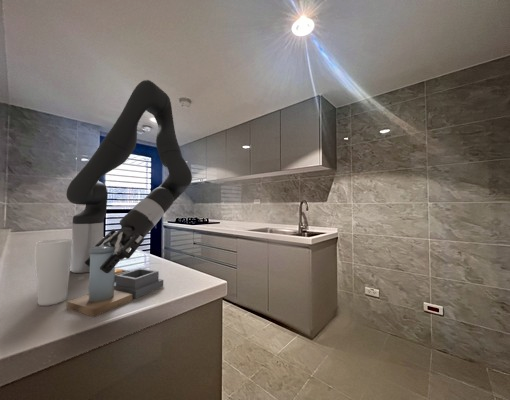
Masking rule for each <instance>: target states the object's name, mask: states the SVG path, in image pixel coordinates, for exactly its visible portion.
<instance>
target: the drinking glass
mask: <svg viewBox="0 0 510 400" xmlns="http://www.w3.org/2000/svg"><path fill="white" fill-rule="evenodd" d="M71 258H72V238H71V239H70V238H56V239H45V240H40V241H36V242H35V248H34V264H35V265H34V268H35V275H36V277H35V278H36V290H37V291H36V292H37V305H39V306H43V307H44V306H45V307H46V306H52V305H57V304H60V303H62V302H64V301H65V300H66V299H67V298H68V287H69V279H70V274H71V273H70V272H71Z"/></svg>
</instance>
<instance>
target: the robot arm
mask: <svg viewBox="0 0 510 400" xmlns="http://www.w3.org/2000/svg"><path fill="white" fill-rule="evenodd" d="M145 112H147V113H149V114H151V115H152V116H153V117H154V120H155V121H156V124H157V128H158V129H157V133H156V136H155V137H156V138H155V144H156V149H157V152H158V156H159V160H160V163H161V164H162V166H163V167H166V168H167V170H168V175H167V177H166V178H165V180H163V182H162V183H161V184H160V185H159V186H158V187H156V188H154V189H152V190H151V191H150V192H149V193H148V194H147V195H146V196H145V197H144V198H143V199H141V200H140V201H139V202H138V203H137V204H136V205H134V206H133V208H131V210H130V211H128V212H127V214H126V215H124V216H123V217H122V218H121V219H120V220H119V224H120V227H121V228H120V229H119V230H117V231H116V230H115V229H112V230H111V231H109V232H108V233H107V234H106V235H105V236H104V226H105V225H104V220H105V217H106V214H107V207H108V206H107V205H108V189H107V186H106V184H105V183H103V182H102V181H100V180H101V179H102V178H103V176H105V175H107V174H108V173H109V172H111V171H113V170H115V169H116V168H119V167H120V166H121V165H123V164H124V163H125V162H126V161H127V160H128V159H129V157H130V156H131V155H132V153H133V152H134V150H135V149H136V147H137V141H138V125H139V122H140V120H141V119H142V117H143V115H144V113H145ZM173 115H174V114H173V108H172V102H171V98H170V97H169V95H168V94H167V93H166V92H165V91H164V90H163V89H162V88H161V87H159V86H158V85H157V84H156V83H154V81H152V80H149V79H143V80H141V81H140V82H139V83H137V85H136V86H135V88H134V89H133V91H132V93H131V95H129V98H128V100H127V101H126V103H125V106H124V108H123V109H122V112H121V113H120V115H119V116H118V117H117V120H116V121H115V123H114V124H113V126H112V127H111V129H110V130H109V131H108V133H107V134H106V135H105V136H104V138H103V140H102V141H101V143H100V144H99V146H98V147H97V149H96V151H95V152H94V154H93V155H92V156H91V157H90V159H89V161H87V163H86V164H85V165H84V166H83V168H82V169H81V170H80V171H79V172H78V173H77V175H75V176H74V178H72V180H71V182H70V183H69V184H68V186H67V189H66V193H65V194H66V198H67V200H68V202H70V203H71V204H75V205H79V206H85V208H84V210H82V211H81V212H80V213H77V214H74V215H73V217H72V227H71V228H72V231H71V232H72V233H71V236H72V237H71V240H72V258H71V266H70V272H71V273H73V274H75V273H76V274H81V273H84V274H85V273H90V248H92V247H98V246H115V248H116V249H115V251H114V253H113V254H114V255H111V256H110V257H109V258H108V259H107V260H106V261H105V262H104V263H103V264H102V266H101V267H100V270H102V271H103V272H105V273H109V272H110V271H111V270H112V269H113V268H114V267H115V268H116V266H117V265H118V263H119V262H120V261H123V260H125V259H130V258H131V257H132V256H133V254H134V253H135V252H136V250H137V249H139V247H140V246H141V245H142V243H143V242H144V241H145V237H146V236H147V235H148V234H149V233H150V232H151V231H152V229H154V227H155V226H156V225H157V224H158V222H160V220H161V218H162V217H163V216H164V215H165V214H166V212H167V211H168V210H169V209H170V208H171V206H172V205H173V204H174V202H175V201H176V200H177V199H178V198H179V197H180V196H181V195H182V194H183V193H184V192H185V191H186V190H187V188H188V187H190V184H191V183H192V180H193V177H192V172H191V171H192V170H191V169H190V167H189V166H188V163H187V162H186V160H185V159H184V158H183V155H182V151H181V148H180V145H179V142H178V139H177V133H176V130H175V123H174V116H173Z"/></svg>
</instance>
